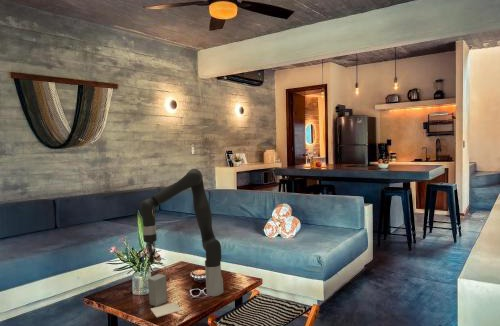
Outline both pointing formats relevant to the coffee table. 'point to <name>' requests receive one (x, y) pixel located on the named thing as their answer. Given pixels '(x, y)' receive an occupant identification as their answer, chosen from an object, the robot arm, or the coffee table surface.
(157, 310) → the mat
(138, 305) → the coffee table surface
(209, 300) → the coffee table surface
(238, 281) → the coffee table surface
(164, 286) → the skincare box
